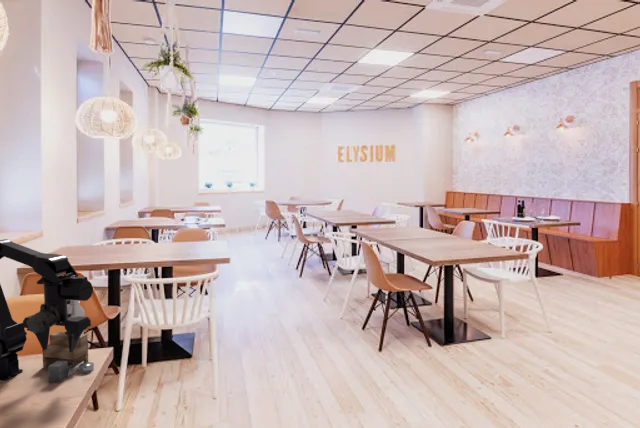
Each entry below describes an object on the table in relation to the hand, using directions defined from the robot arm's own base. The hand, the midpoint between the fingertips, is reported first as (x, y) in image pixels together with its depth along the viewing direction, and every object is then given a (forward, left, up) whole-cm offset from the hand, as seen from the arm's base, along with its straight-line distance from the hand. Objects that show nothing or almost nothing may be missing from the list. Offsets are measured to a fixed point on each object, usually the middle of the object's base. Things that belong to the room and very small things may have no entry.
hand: (58, 350), depth 128 cm
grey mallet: (-1, +4, -9) cm, 10 cm away
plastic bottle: (-9, +17, -9) cm, 21 cm away
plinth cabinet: (-6, +10, -9) cm, 15 cm away
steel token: (+3, +8, -9) cm, 12 cm away
